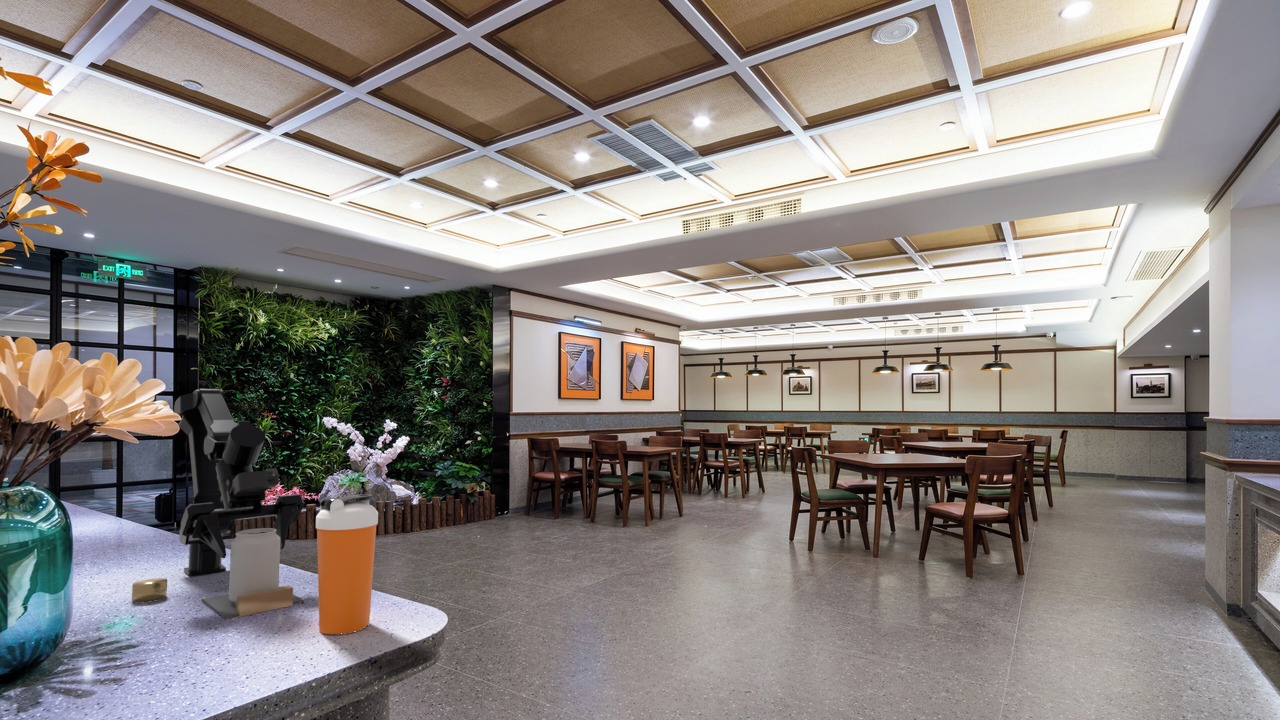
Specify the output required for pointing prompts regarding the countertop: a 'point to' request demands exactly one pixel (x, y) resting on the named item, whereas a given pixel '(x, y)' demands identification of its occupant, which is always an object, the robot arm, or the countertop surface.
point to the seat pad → (230, 605)
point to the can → (254, 561)
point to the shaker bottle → (345, 562)
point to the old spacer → (149, 590)
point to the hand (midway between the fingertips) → (254, 552)
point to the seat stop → (264, 600)
